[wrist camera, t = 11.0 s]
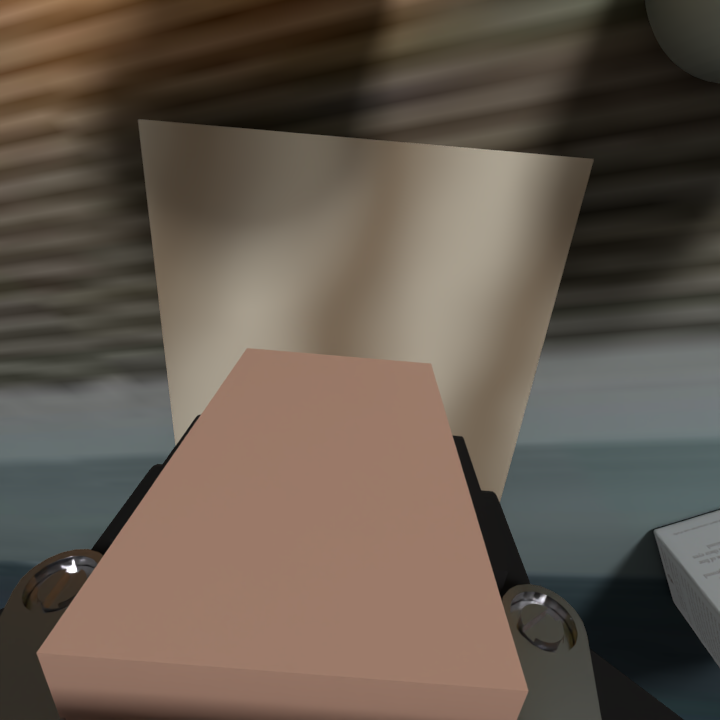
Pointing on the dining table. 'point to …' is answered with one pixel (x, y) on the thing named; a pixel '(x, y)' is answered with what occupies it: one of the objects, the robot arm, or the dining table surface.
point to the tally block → (297, 564)
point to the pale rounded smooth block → (688, 34)
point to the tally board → (360, 263)
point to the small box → (695, 574)
